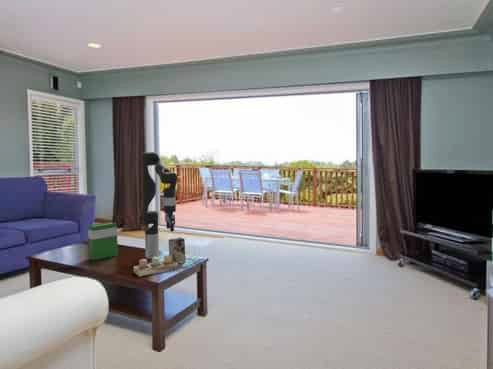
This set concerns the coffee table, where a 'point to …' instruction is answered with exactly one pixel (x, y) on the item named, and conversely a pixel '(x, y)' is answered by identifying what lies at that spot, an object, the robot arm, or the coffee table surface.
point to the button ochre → (167, 259)
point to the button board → (155, 268)
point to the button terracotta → (143, 263)
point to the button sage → (155, 261)
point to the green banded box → (102, 240)
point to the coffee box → (177, 249)
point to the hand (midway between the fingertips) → (170, 229)
